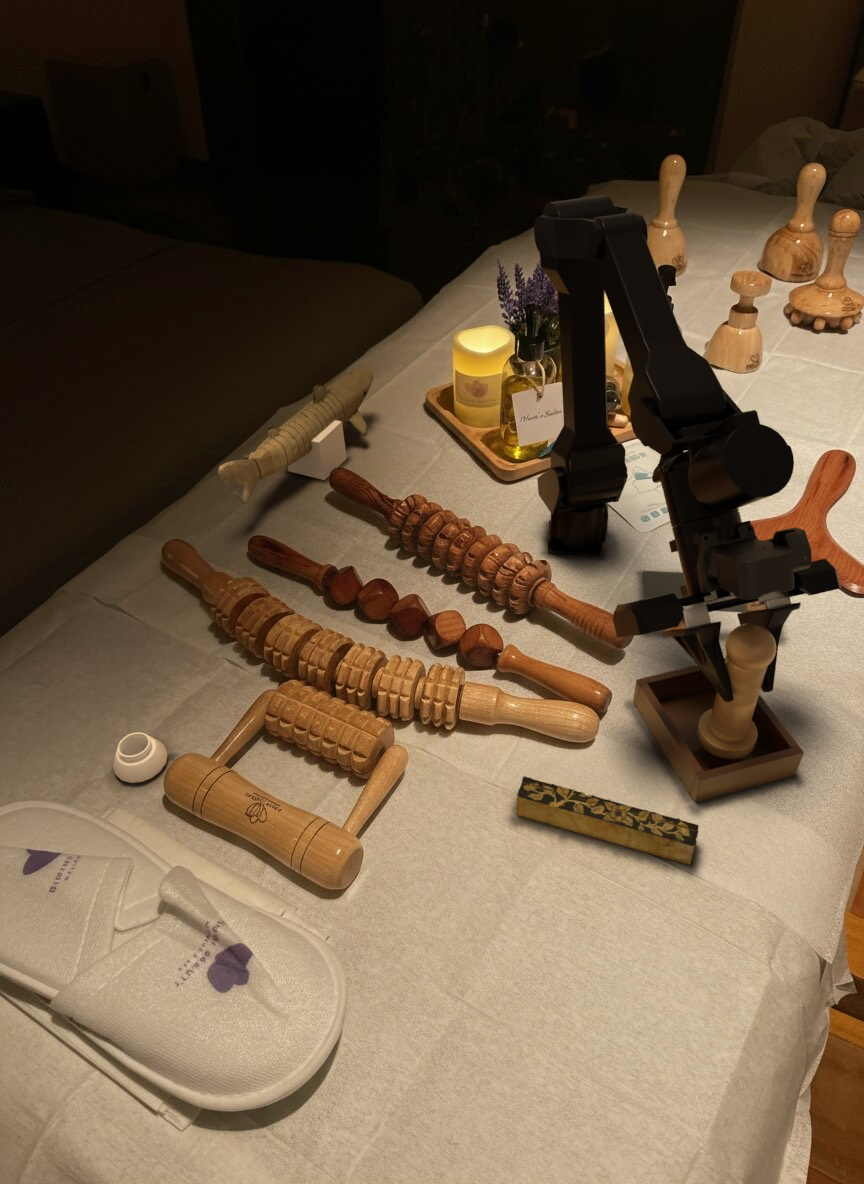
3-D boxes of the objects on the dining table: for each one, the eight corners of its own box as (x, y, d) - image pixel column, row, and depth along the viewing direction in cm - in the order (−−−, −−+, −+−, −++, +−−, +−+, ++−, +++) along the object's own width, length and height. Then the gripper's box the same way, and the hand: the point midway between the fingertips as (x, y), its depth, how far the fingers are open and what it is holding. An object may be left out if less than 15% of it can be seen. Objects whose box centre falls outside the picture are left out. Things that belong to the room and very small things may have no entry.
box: (632, 705, 87) (636, 679, 85) (723, 682, 89) (730, 656, 87) (693, 806, 78) (700, 780, 76) (794, 778, 80) (804, 752, 77)
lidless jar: (147, 735, 87) (105, 767, 84) (140, 716, 85) (96, 748, 82) (178, 760, 84) (135, 794, 82) (171, 740, 83) (127, 774, 80)
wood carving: (207, 534, 112) (187, 460, 105) (346, 409, 136) (337, 341, 128) (264, 551, 109) (247, 476, 102) (396, 420, 132) (391, 351, 125)
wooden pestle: (699, 757, 79) (726, 650, 70) (694, 713, 82) (719, 607, 74) (759, 761, 78) (794, 654, 69) (751, 717, 82) (783, 610, 73)
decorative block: (694, 846, 75) (700, 822, 73) (690, 870, 73) (696, 846, 71) (522, 797, 80) (523, 773, 77) (514, 818, 78) (515, 794, 76)
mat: (646, 632, 95) (647, 628, 95) (642, 573, 103) (643, 570, 102) (780, 640, 93) (781, 636, 93) (766, 580, 101) (766, 576, 100)
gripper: (643, 525, 66) (691, 728, 65) (859, 480, 69) (908, 672, 68) (593, 546, 77) (634, 720, 76) (781, 506, 80) (822, 672, 79)
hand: (748, 696), depth 75 cm, fingers closed on wooden pestle, 3 cm apart
